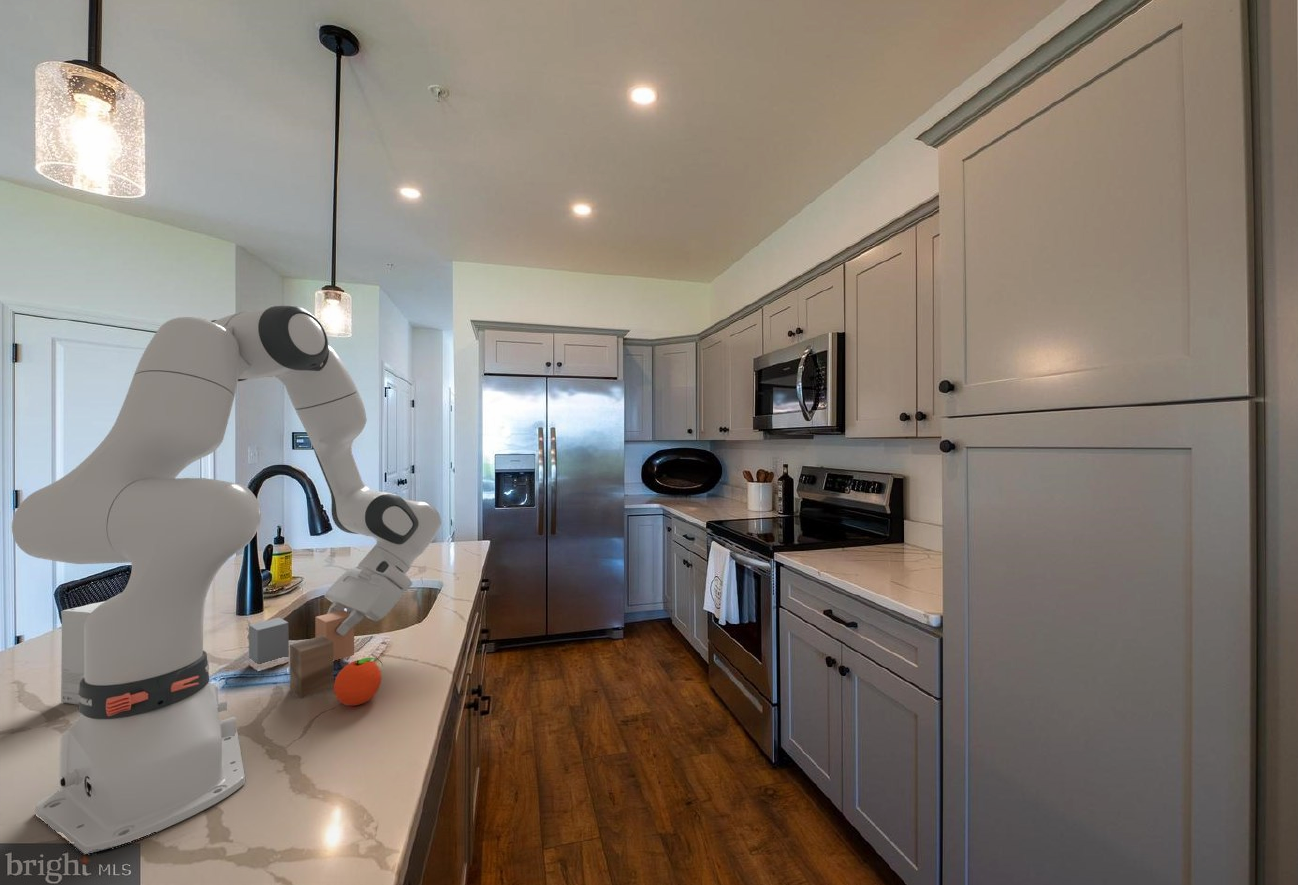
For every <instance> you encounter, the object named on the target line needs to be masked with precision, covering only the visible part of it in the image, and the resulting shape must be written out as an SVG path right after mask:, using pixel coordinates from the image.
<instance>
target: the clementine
mask: <svg viewBox="0 0 1298 885" xmlns="http://www.w3.org/2000/svg"><path fill="white" fill-rule="evenodd" d="M372 660H377V661H379V662H380V663H381V666H384V665H383V662H382V660H381V659H378V658H375V657H366V658H365V657H364V658H361V659H356V660H353V661H351V662H349V663H348V664H346V665H345V666H344V667H342V668H341V670H340V671H339V672H338V673H337V675H336V678H335V680H334V687H333V692H334V693H333V694H334V695H335V697H336V699H337V701H339V702H340V703H341V704H343V705H347V706H353V707H355V706H359V705H362V704H364V703H367V702H368V701H369V700H371V699H372V698H373V697H374V696H375V695H376V693H377V692H378V691H379V688H380V686H381V684H382V673H381V672H382V671H381V669H380V667H378V665H377V664H376V663H375V662H373V661H372Z"/></svg>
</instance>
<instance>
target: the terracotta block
mask: <svg viewBox="0 0 1298 885" xmlns="http://www.w3.org/2000/svg"><path fill="white" fill-rule="evenodd" d="M350 613H351V612H349V611H346V610H345V609H344V610H341V611H337V612H333V613H329V614H327V613H325V614H322V615H318V616H315V619H314V620H315V627H314V628H315V629H314V630H315V632H314V633H315V637H319V636H323V637H325V638H327V639H329V640H330V641H332V642H333V660H337V661H339V660H338V659H340V660H343V659H346V658H348V657H352V656H354V655H355V626H353V627H352V628H350V629H349V631H348V632H347V633H346V634H345V635H340V634H339V633H337V632H335V628H336V627H337V626H338V624H339V623H340V622H343V621H345V620H346V619H347V618H348V617H349V616H350V615H349V614H350ZM315 637H314V638H315Z"/></svg>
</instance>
